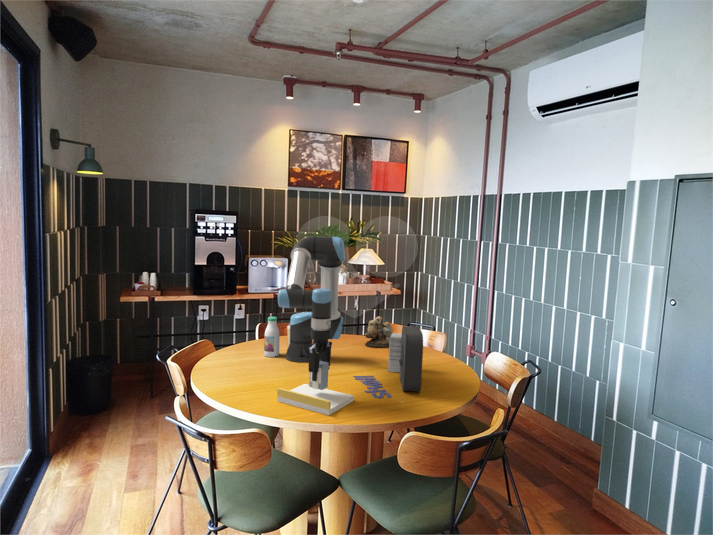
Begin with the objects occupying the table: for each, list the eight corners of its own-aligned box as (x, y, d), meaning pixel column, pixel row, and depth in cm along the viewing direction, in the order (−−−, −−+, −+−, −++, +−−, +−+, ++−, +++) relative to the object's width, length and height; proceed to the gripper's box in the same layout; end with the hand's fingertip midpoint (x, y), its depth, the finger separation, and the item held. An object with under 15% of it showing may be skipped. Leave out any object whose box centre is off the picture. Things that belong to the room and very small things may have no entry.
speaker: (420, 395, 200) (423, 336, 198) (399, 394, 200) (402, 335, 198) (415, 376, 225) (417, 323, 222) (396, 375, 225) (399, 322, 223)
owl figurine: (367, 349, 271) (368, 319, 269) (360, 344, 282) (361, 315, 281) (397, 347, 276) (398, 318, 275) (389, 342, 287) (390, 314, 286)
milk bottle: (273, 352, 256) (274, 315, 254) (282, 355, 251) (283, 317, 249) (261, 354, 251) (261, 316, 249) (269, 358, 245) (270, 319, 243)
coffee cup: (296, 350, 262) (297, 328, 260) (283, 347, 266) (283, 326, 265) (307, 347, 269) (307, 326, 268) (293, 344, 274) (294, 323, 273)
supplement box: (407, 373, 229) (408, 338, 227) (387, 371, 231) (389, 337, 229) (409, 367, 238) (410, 334, 237) (390, 366, 240) (391, 332, 238)
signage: (393, 396, 197) (369, 398, 194) (393, 398, 197) (369, 399, 194) (373, 374, 224) (353, 375, 221) (373, 376, 224) (352, 377, 221)
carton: (308, 386, 191) (309, 362, 190) (315, 384, 194) (316, 359, 194) (321, 390, 188) (322, 365, 187) (327, 387, 191) (328, 362, 190)
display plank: (277, 401, 188) (277, 388, 187) (304, 388, 203) (304, 376, 203) (328, 415, 176) (329, 402, 176) (353, 400, 192) (354, 388, 191)
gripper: (316, 333, 179) (314, 395, 182) (340, 326, 194) (338, 382, 197) (299, 331, 183) (298, 391, 185) (325, 323, 198) (323, 379, 200)
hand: (319, 386), depth 191 cm, fingers closed on carton, 4 cm apart
